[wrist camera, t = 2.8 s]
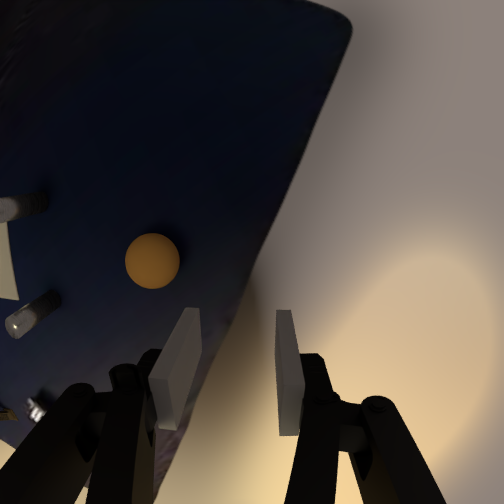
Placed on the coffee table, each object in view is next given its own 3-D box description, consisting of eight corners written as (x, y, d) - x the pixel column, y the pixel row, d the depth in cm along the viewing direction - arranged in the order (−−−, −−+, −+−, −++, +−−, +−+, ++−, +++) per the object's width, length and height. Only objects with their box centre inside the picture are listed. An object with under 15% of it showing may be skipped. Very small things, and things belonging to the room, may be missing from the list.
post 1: (33, 192, 32) (-16, 200, 23) (47, 190, 32) (-2, 198, 23) (34, 213, 33) (-14, 225, 24) (49, 212, 33) (0, 224, 24)
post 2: (44, 289, 35) (2, 316, 26) (59, 290, 35) (17, 318, 26) (48, 307, 36) (8, 336, 27) (62, 309, 36) (23, 340, 27)
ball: (135, 228, 33) (113, 239, 28) (184, 228, 33) (169, 239, 27) (139, 277, 34) (119, 295, 29) (186, 279, 34) (173, 298, 29)
